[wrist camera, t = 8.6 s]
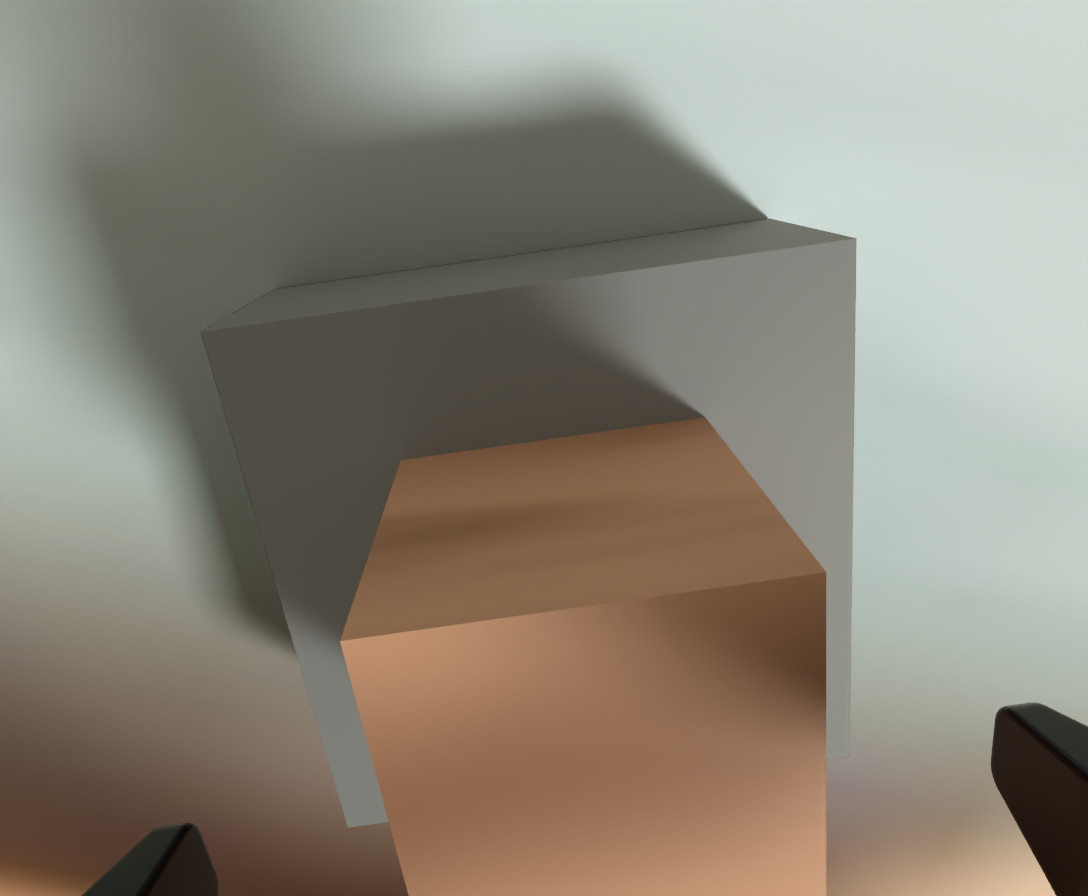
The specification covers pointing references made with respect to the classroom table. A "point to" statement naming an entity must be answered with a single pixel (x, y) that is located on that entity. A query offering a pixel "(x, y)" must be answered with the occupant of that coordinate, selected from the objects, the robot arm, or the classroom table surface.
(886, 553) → the classroom table surface
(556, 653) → the terracotta cube
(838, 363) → the base block
